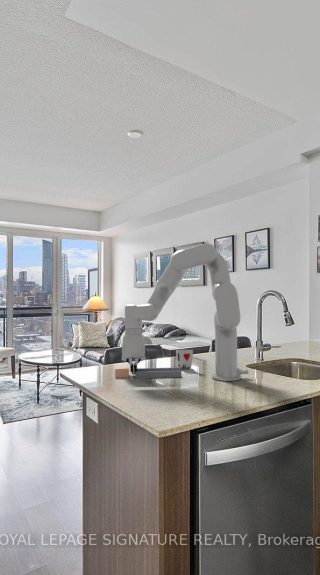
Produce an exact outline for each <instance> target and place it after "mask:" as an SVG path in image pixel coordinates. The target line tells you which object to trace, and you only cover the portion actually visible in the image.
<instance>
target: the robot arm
mask: <svg viewBox="0 0 320 575" xmlns="http://www.w3.org/2000/svg"><path fill="white" fill-rule="evenodd" d="M200 266H205V267H206V268H207V269H208V271H209V278H210V284H211V293H212V294H211V295H212V298H213V300H214V301H215V306H216V311H215V312H214V317H213V322H214V336H215V337H214V351H215V352H214V354H215V355H214V356H215V359H214V361H215V373H213V374H212V375H211V378H212V379H213V380H216V381H219V382H220V381H221V382H235V381H239V380H241V379H242V376H241V375H249V369H243V368H239V367H238V332H237V330H238V329H237V327H238V326H239V325H240V322H241V310H240V302H239V295H238V291H237V289H236V287H235V285H234V284H233V283H232V281H231V276H230V270H229V266H228V263H227V260H226V259H225V257H224V256H223V255H222V254H221V253H219V252H218V251H217V249H216V247H215V245H213V244H211V243H208V242H207V243H201V244H198V245H194V246H191V247H188V248H184V249H180V250H178V251H175V252H174V253H173V254H172V255H171V258H170V260H169V262H168V264H167V266H166V268H165V269H164V270H163V272H162V274H161V275H160V277H159V279H158V280H157V283H156V286H155V288H154V290H153V292H152V294H151V296H150V298H149V299H148V300H147V302H146V304H136V303H135V304H131V303H130V304H126V305H125V306H124V334H123V336H122V345H121V361H124V362H126V363H128V364H129V373H131V375H135V374H136V373H135V372H137V368H138V364H140V362H142V361H146V358H147V357H146V346H145V345H146V344H145V343H146V342H145V336H144V334H143V333H146V329H143V321H146V322H153V321H155V320H156V319H157V318H158V316H159V315H160V313H161V311H162V310H163V308H164V306H165V305H166V304H167V302H168V300H169V299H170V297H171V296H172V295H173V294H174V292H175V290H176V289H177V287H178V285H179V284H180V282H181V281H182V279H183V278H184V276H185V274H186V272H187V271H188V269H192V268H196V267H200ZM133 359H135V360H134V362H133Z"/></svg>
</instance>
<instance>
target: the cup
mask: <svg viewBox="0 0 320 575" xmlns="http://www.w3.org/2000/svg"><path fill="white" fill-rule="evenodd" d="M175 353H176V354H175V356H176V363H177V368H178V367H179V371H188V370H191V369H192V363H193V359H194V358H193V356H194V355H193V354H194V351H193V349H176V350H175Z"/></svg>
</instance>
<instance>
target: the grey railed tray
mask: <svg viewBox="0 0 320 575" xmlns="http://www.w3.org/2000/svg"><path fill="white" fill-rule="evenodd" d="M135 373H136V374H134V375H135V379H149V378H151V379H153V378H154V379H155V378H161V379H162V378H182V370H180V369H179V367H178V366H177V367H147V368H146V367H145V368H143V367H142V368H141V367H137V372H135Z"/></svg>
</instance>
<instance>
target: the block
mask: <svg viewBox="0 0 320 575" xmlns="http://www.w3.org/2000/svg"><path fill="white" fill-rule="evenodd" d="M114 368H115V369H114V378H115V379H117V378H130V366H115V367H114Z"/></svg>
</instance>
